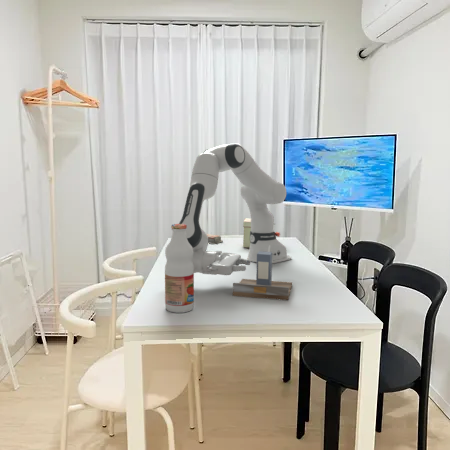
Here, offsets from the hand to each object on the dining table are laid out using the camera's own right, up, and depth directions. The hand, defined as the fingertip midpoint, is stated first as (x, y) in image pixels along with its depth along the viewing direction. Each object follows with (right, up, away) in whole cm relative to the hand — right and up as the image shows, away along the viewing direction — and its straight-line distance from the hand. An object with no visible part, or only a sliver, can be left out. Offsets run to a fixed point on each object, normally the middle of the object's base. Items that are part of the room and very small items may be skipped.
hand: (248, 265), depth 164 cm
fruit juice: (-24, -13, -20) cm, 34 cm away
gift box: (+11, +3, +87) cm, 87 cm away
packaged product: (-20, +5, +98) cm, 100 cm away
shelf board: (+6, -10, 0) cm, 11 cm away
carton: (+6, -8, 0) cm, 10 cm away
